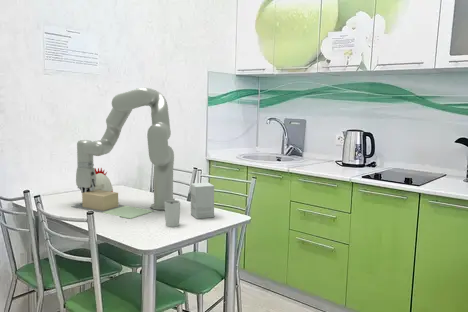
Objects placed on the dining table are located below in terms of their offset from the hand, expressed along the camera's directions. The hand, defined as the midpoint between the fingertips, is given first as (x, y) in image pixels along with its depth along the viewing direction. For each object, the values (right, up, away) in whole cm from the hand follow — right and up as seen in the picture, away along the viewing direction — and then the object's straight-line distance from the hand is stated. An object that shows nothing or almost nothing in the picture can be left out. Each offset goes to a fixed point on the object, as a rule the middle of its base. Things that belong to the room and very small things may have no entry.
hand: (86, 200), depth 206 cm
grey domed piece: (-2, +1, +28) cm, 29 cm away
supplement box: (+60, -6, -16) cm, 62 cm away
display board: (+15, -3, -8) cm, 17 cm away
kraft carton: (+9, -3, -4) cm, 10 cm away
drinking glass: (+48, -7, -31) cm, 58 cm away
